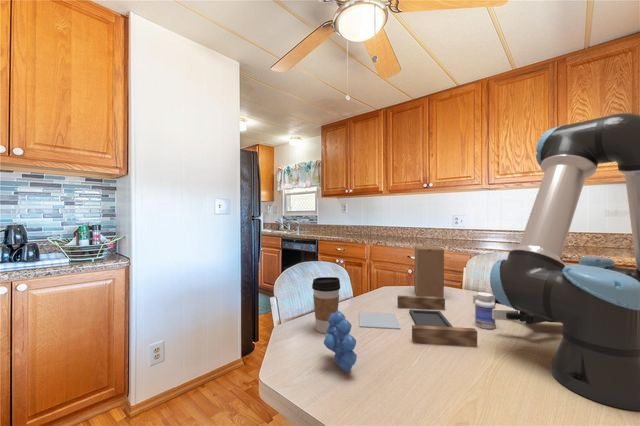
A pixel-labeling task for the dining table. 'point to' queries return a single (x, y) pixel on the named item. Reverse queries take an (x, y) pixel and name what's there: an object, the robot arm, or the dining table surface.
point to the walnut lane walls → (436, 333)
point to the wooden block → (429, 271)
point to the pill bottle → (484, 311)
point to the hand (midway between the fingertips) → (482, 305)
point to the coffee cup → (325, 300)
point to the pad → (378, 320)
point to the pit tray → (429, 318)
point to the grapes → (341, 341)
